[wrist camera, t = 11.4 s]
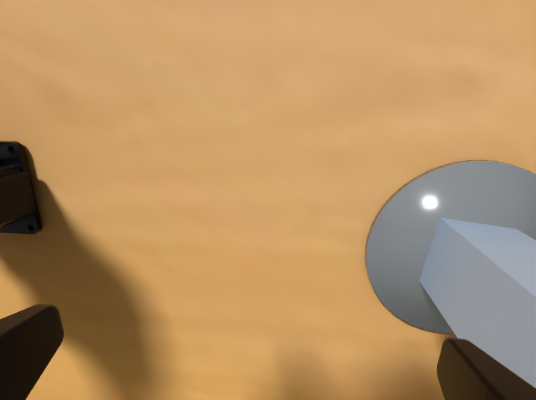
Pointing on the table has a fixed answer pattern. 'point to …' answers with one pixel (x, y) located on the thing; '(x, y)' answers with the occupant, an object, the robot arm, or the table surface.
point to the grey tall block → (486, 289)
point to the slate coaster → (425, 224)
